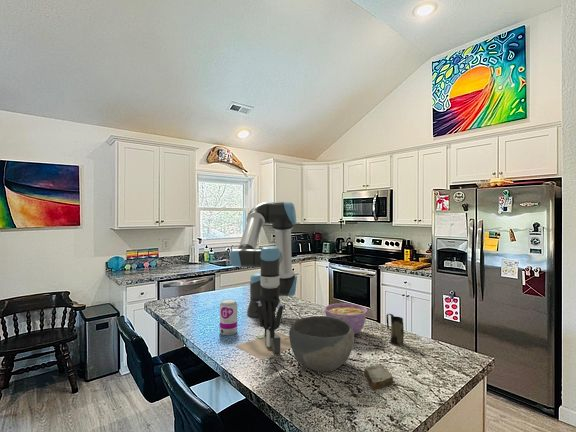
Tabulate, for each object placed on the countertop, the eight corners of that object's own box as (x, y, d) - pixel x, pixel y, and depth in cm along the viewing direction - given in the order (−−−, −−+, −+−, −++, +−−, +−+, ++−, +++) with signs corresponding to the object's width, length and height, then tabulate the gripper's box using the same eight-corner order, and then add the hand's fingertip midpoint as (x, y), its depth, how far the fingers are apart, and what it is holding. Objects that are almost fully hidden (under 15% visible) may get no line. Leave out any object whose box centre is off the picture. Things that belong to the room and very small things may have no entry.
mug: (406, 344, 144) (406, 316, 144) (398, 347, 141) (398, 318, 141) (391, 338, 150) (391, 312, 150) (383, 341, 147) (383, 314, 147)
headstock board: (274, 333, 157) (274, 330, 156) (305, 345, 142) (305, 342, 142) (231, 347, 140) (231, 344, 140) (261, 362, 125) (261, 358, 125)
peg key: (259, 335, 150) (259, 321, 150) (268, 334, 151) (268, 320, 151) (272, 354, 130) (272, 338, 130) (282, 352, 131) (282, 337, 131)
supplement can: (233, 336, 153) (233, 304, 153) (217, 335, 155) (217, 303, 155) (239, 330, 161) (239, 299, 161) (223, 329, 163) (223, 298, 162)
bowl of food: (371, 329, 162) (371, 306, 162) (362, 344, 144) (362, 317, 144) (331, 323, 170) (331, 301, 170) (318, 336, 152) (318, 311, 152)
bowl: (338, 389, 107) (338, 342, 107) (276, 370, 120) (276, 328, 120) (364, 360, 127) (364, 321, 127) (308, 347, 140) (308, 311, 140)
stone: (361, 370, 120) (361, 361, 120) (383, 369, 121) (383, 361, 121) (372, 391, 106) (372, 382, 106) (398, 391, 106) (398, 382, 106)
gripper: (250, 286, 130) (250, 345, 131) (279, 289, 125) (279, 352, 125) (260, 282, 137) (260, 339, 137) (288, 286, 131) (288, 345, 132)
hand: (269, 345), depth 131 cm, fingers closed
